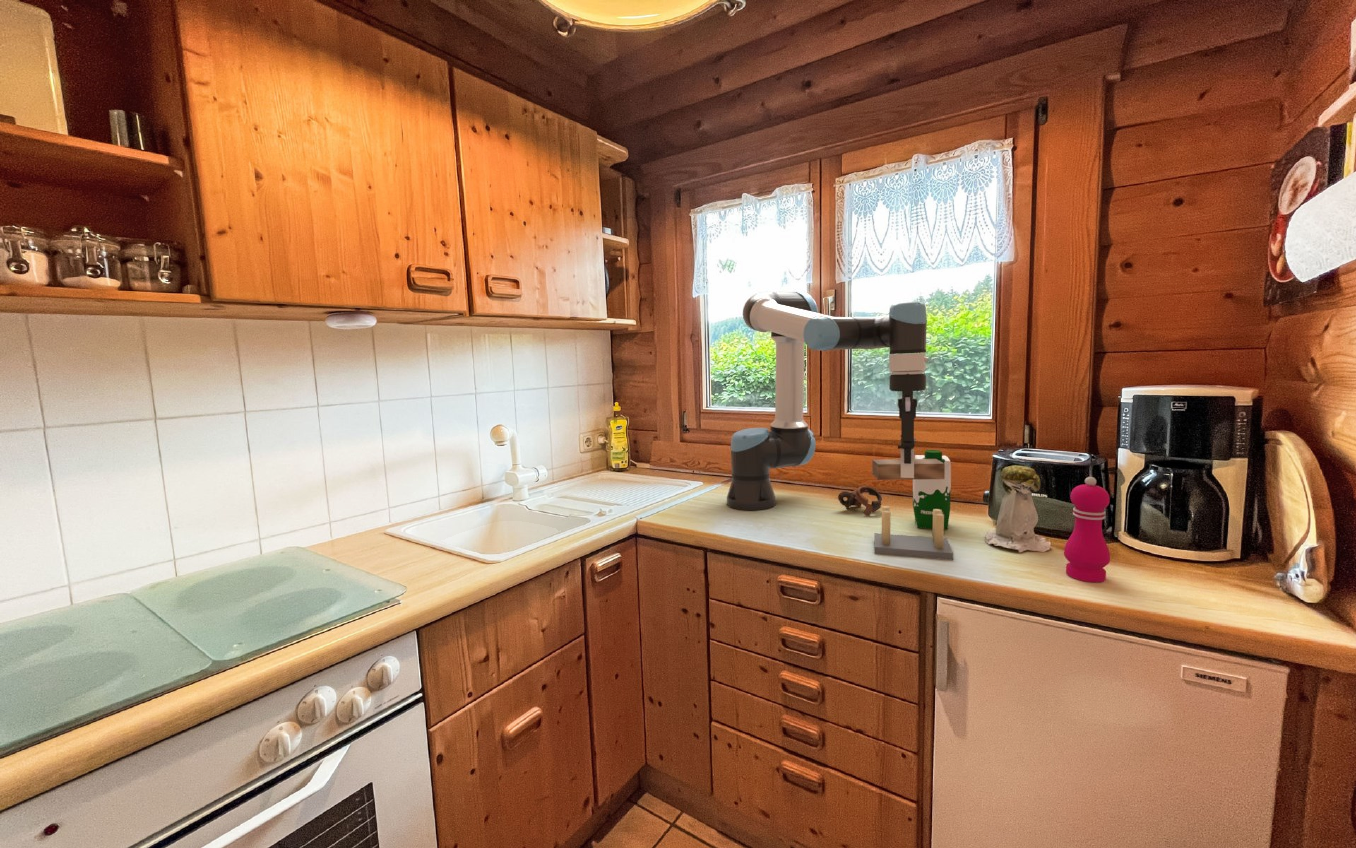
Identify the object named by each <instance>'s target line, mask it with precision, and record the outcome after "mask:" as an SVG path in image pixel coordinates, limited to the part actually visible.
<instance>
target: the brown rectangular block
mask: <svg viewBox="0 0 1356 848" xmlns="http://www.w3.org/2000/svg"><path fill="white" fill-rule="evenodd" d="M871 464H872V465H871V466H872V468H871V469H872V475H873V476H874V478H876V479H877V480H878V481H881V480H882V481H885V480H887V481H888V480H891V481H893V480H894V481H895V480H899V481H900V480H907V481H908V480H910V481H911V480H913V479H945V463H943V462H941V461H939V460H937V459H915V458H914V478H901V458H899V459H897V458H896V459H872V463H871Z"/></svg>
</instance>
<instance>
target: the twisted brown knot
mask: <svg viewBox="0 0 1356 848" xmlns="http://www.w3.org/2000/svg"><path fill="white" fill-rule="evenodd" d="M865 492H867V493H868V495H870V496H874V497H876V499H877V500H872V501H871V504H870V503H869V499H868V498H866V497H865V496H863V493H865ZM844 498H846V500H845V499H844ZM837 500H838V502H839V503H840V505H842V506H843V507H845V509H846V510H850V508H851V507H854V506H855V507H858V508H861V507H862V505H863V506H864V507H865V510H864V511H863V514H864V515H865V516H867V515H869V516H870V515H871V514H872V513H875V512H877V511H878V510H880V509H882V501H883V497H882V494H880V492H879V491H878V490H876V489H874V488H872V487H870V486H865V485H860V486H859V487H857V489H854V490H853V491H851V492H849V491H846V490H845V491H841V492H840V493H839V494H838V495H837Z"/></svg>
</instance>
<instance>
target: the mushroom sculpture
mask: <svg viewBox="0 0 1356 848" xmlns="http://www.w3.org/2000/svg"><path fill="white" fill-rule="evenodd" d="M1000 479H1001V480H1002V488H1003V490H1004V491H1005V492H1006V493H1005V494H1004V495H1003V498H1002V499H1001V500H1002V501H1001V504H1000V507H999V511H998V516H997V521H996V526H995V529H989V530H988V531H986V532H985V534H984V541H985V544H987V545H988V546H989V545H992V544H993V545H994V546H996V547H998V546H999V547H1002V548H1007V549H1012V550H1017V551H1018V553H1019V554H1020V553H1023V552H1025V551H1034V552H1040V553H1041V552H1042V553H1045V552H1046V551H1049V550H1050V549H1051V539H1050V538H1048V541H1047V540H1046V539H1047V538H1046V537H1041V536H1040V535H1039V534H1036V533H1035V531H1034V529H1035V527H1036V525H1038V524H1037V523H1038V521H1039V517H1038V512H1037V510H1036V507H1035V504H1034V500H1033V498H1032V495H1031V494H1032V493H1035V492H1038V491H1040V489H1041V479H1040V477H1039V475H1038V474H1037V471H1036V470H1035V469H1034V468H1031V467H1028V466H1024V465H1016V464H1015V465H1009V466H1005V467H1004V468H1003V467H1002V470H1001V472H1000Z"/></svg>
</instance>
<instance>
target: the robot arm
mask: <svg viewBox="0 0 1356 848" xmlns="http://www.w3.org/2000/svg"><path fill="white" fill-rule="evenodd" d="M926 306H927V305H925V303H924V302H921V301H907V302H898V303H893V304H891V305H889V311H888V314H887V315H878V316H844V317H843V316H831V315H828V314H823V313H819V308H818V306H817V303H816V301H815V299H814V298H813V296H811V295H810V294H809V293H807V292H798V291H779V292H778V291H776V292H775V291H762V292H759V293H756V294H753V295H751V296H750V297H749V298H748V299H747V300H746V302H745V303H744V306H743V309H742V318H743V321H744V323H745V325H746V326H747V327H748V328H749V329H751V330H753V331H756V332H759V333H768V332H770V338H771V339H772V340H773V342H774V343H775V393H774V395H775V397H774V398H775V399H774V400H775V401H774V402H775V405H774V408H775V411H774V416H775V417H774V420H773V421H772V422H771V423H770V429H769V428H766V427H750V428H746V429H745V428H744V429H741V430H738V431H736V432H734V433H733V434H732V435H731V439H730V456H731V457H730V458H731V459H730V460H731V462H730V463H731V464H730V465H731V482H730V486H729V488H728V492H727V495H726V505H727V506H728V507H729V508H732V509H737V510H742V511H759V510H767V509H771V508H773V507H775V506H776V504H777V503H776V502H777V500H776V499H777V498H776V494H775V492H774V488H773V485H772V483H771V479H770V477H771V476H770V470H771V469H780V468H782V469H783V468H789V467H794V468H795V467H798V466H803V465H806V464H808V463H809V462H810V461H811V460H812V458H813V456H814V455H815V451H816V438H815V437H814V435H815V434H814V433H813V431H812V430H811V429H809V424H808V423H807V422H806V421H805V419H804V388H805V387H804V385H805V381H804V380H805V378H804V377H805V373H804V372H805V344H806V345H807V348H809V349H810V350H812V351H821V352H827V351H839V350H842V351H843V350H864V351H865V350H874V349H883V348H884V349H885V348H889V355H888V357H889V358H888V363H889V364H888V367H889V369H888V370H889V372H890V373H891V374H890V375H889V379H888V380H889V381H888V382H889V384H888V385H889V390H890V392H891V391H892V392H901V397H900V398H898V399H897V408H898V418H899V419H900V420H901V421H900V422H901V423H900V424H901V425H900V427H901V428H900V429H901V430H900V431H901V432H900V433H901V434H900V442H901V443H900V444H898V445H897V449H898V450H899V449H900V459H901V478H914V459H915V445H916V444H915V443H917V438H915V419H916V418H917V417H916V416H917V407H918V399H917V398H914V392H922V391H925V390H926V389H927V375H926V373H923V372H925V371H926V369H927V366H926V364H927V362H930V357H927V356H926V354H927V328H928V327H927V325H928V324H927V323H928V319H927V308H926Z"/></svg>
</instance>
